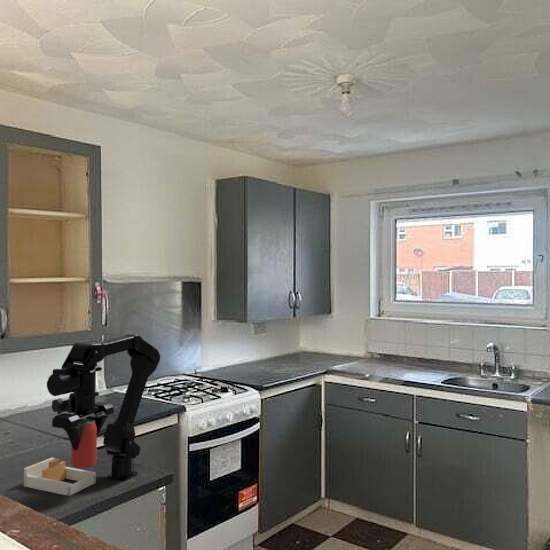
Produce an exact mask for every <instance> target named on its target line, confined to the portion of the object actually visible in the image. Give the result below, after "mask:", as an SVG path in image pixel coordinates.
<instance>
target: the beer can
mask: <svg viewBox="0 0 550 550" xmlns="http://www.w3.org/2000/svg"><path fill="white" fill-rule="evenodd" d="M79 425H82V426H83V429H82V434H81V438H80V442H79V446H78V449H77V450H73V447H72V445H71V444H70V465H71V466H72V468H75V469H81V470H83V469H88V468H91V467H93V466H95V465H96V463H97V458H98V457H97V455H98V453H97V452H98V451H97V450H98V449H97V447H98V446H97V444H98V443H97V442H98V441H97V440H98V436H97V427H96V424H95V420H93V419H86V418H84V419H81V420H80V423H79Z"/></svg>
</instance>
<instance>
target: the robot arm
mask: <svg viewBox="0 0 550 550" xmlns="http://www.w3.org/2000/svg"><path fill="white" fill-rule="evenodd" d="M125 351H126V354H127V355H128V356H129V357H130V365H129V366H130V368H131V376H130V380H129V382H128V385H127V388H126V391H125V394H124V397H123V400H122V403H121V406H120V409H119V412H118V415H117V419H116V420H114V422H113V423H108V424H107V425H106V429H105V432H104V435H103V436H102V437H103V441H102V444H103V446H104V449H105V452H106V455H108V456H109V455H110V456H112V457H111V469H110V470H111V472H110V473H109V474H107V478H108V479H115V480H118V481H119V480H120V481H127V480H129V479H131V478H133V477H134V476H137V475H138V474H139V472H138V471H136V470H134V467H135V465H134V463H135V459H136V458H137V457H138V456H140V454H141V446H140V445H138V443H136V441H135V438H136V431H135V426H134V423H135V420H136V417H137V413H138V411H139V408H140V407H139V406H140V404H141V401H142V397H143V394H144V392H145V389H146V385H147V382H148V380H149V379H148V378H149V377H150V376H152V374H153V373H155V371H156V370H157V367H158V365H159V363H160V361H161V354H160V352H159V350H158V349H157V348H155V347H154V346H153V345H152V344H150V343H149V342H147V341H146V340H145V339H143V338H142V337H141V336H140V335H138V334H130V333H128V334H124V335H123V336H118V337H115V338H110V339H107V340H103V341H99V342H85V341H84V342H83V341H82V342H75V343H73V345H72V347H71V349H70V351H69V353H68V355H67V356H66V358H65V360H64V362H63V364H62V365H61V368H53V369H52V374H50V375H49V377H48V379H47V381H46V389H47V391H48V393H49V394H50V395H51V396H53V397H58V396H62V395H66V394H69V395H68V399H64V400H63V399H62V398H56V399H53V400H52V401H51V410H52V412H53V413H56V414H57V415H55V416H54V417H52V419H51V428H57V429H58V428H59V429H63V430H64V431H65V432H66V434H67V436H68V439H69V442H70V446H71V445H72V447H73V450H77V449H78V446H79V442H80V438H81V434H82V429H83V426H82V425H79V423H80V420H81V419H93V420H95V424H96V427H97V437H98V436H99V433H100V432H101V430H102V427H103V426H104V424H105V422H106V421H107V419H108V418H109V415H112V414H114V413H115V411H114V405H113V404H112V403H111V402H104V401H96V398H97V397H98V396H100V392H99V391H96V387H97V386H96V385H97V384H96V379H97V375H96V373H97V372H101V371H102V370H103V368H102V367H101V366H99V365H98V363H100V362H102V361H104V359H105V358H106V357H108V356H111V355H114V354H118V353H122V352H125Z"/></svg>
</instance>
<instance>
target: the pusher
mask: <svg viewBox="0 0 550 550" xmlns="http://www.w3.org/2000/svg"><path fill="white" fill-rule="evenodd" d="M65 467H66V461H65V460H64V461H63V460H62V461H60V458H55V460H52V461H50V462H49V467H48V468H45V469H43V470H42V478H47V479H52V480H57V481H62V482H63V481H64V480H66V478H65Z"/></svg>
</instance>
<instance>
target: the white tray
mask: <svg viewBox="0 0 550 550" xmlns="http://www.w3.org/2000/svg"><path fill="white" fill-rule="evenodd" d="M55 459H56V458H55V457H50V458H47V459H44V460H42V461H40V462H37V463H34V464H32V465H28V466H27V467H24V468H23V487H26V488H31V489H35V490H38V491H39V490H40V491H45V492H49V493H55V494H58V495H62V496H63V495H64V496H69V497H70V496H72V495H74V494H77V493H79V492H80V491H82V490H84V489H86V488H88V487H90V486H92V485H95V484H96V482H97V481H96V480H97V472H96V471H91V470H86V469H80V468H74V467H68V466H65V480H66V479H67V480H72V481H76V482H73V483H71V482H65V481H63V480H62V481H57V480H52V479H47V478H42V470H43V469H45V468H48V467H49V462H50V461H52V460H55Z"/></svg>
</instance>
